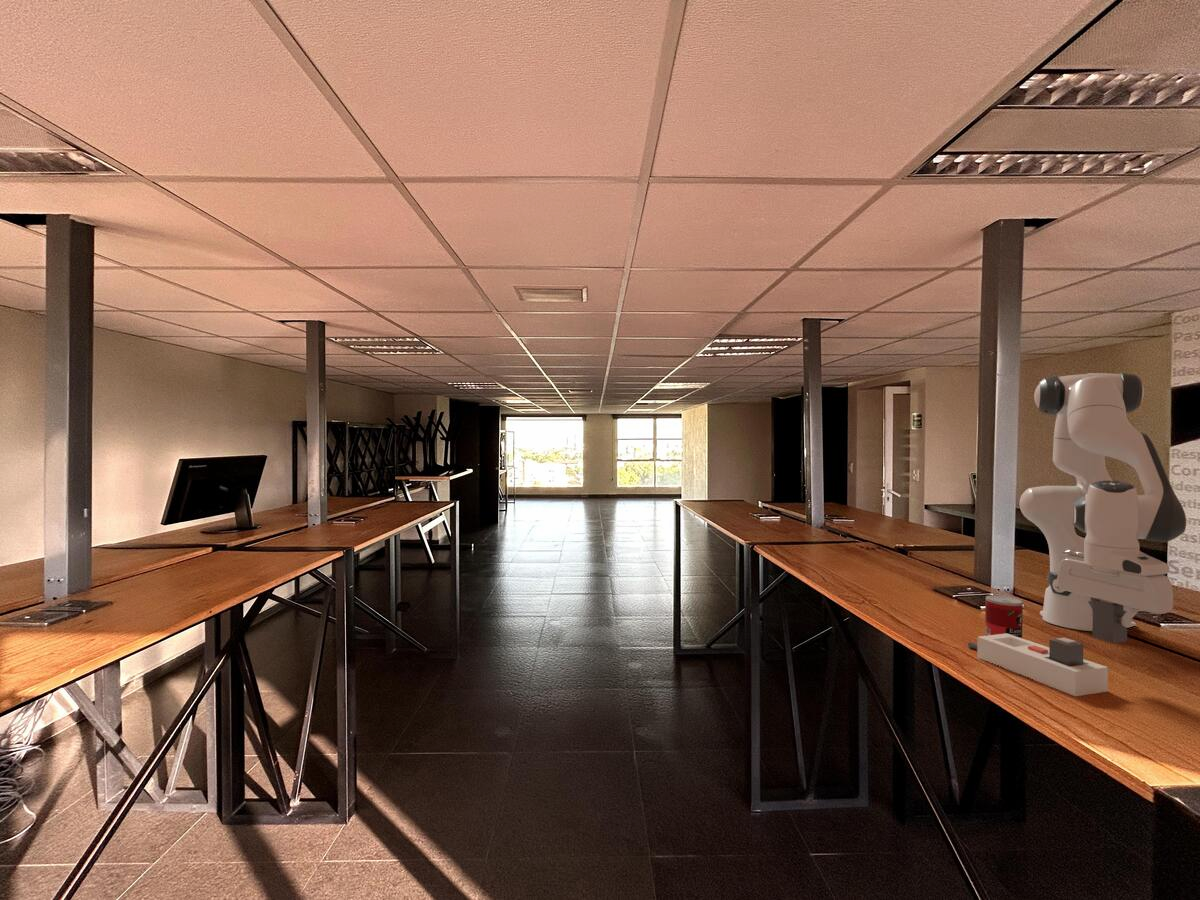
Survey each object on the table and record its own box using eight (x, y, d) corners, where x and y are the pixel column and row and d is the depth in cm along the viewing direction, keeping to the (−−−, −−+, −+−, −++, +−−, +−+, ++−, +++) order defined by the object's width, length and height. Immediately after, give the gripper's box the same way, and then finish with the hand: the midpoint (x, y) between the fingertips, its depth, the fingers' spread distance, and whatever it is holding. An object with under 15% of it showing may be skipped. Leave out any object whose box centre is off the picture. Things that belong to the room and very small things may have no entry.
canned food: (1012, 648, 143) (1012, 604, 143) (978, 639, 150) (978, 597, 150) (1029, 644, 146) (1029, 601, 146) (995, 634, 154) (995, 593, 153)
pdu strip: (984, 645, 145) (984, 608, 145) (1107, 691, 118) (1108, 645, 118) (955, 648, 143) (955, 611, 143) (1075, 696, 116) (1075, 650, 116)
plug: (1105, 634, 126) (1106, 596, 125) (1126, 641, 122) (1127, 601, 122) (1092, 636, 125) (1093, 598, 124) (1113, 643, 121) (1113, 603, 120)
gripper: (1050, 549, 132) (1049, 608, 132) (1156, 569, 112) (1155, 639, 113) (1070, 547, 133) (1070, 606, 134) (1179, 567, 114) (1178, 636, 114)
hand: (1109, 621), depth 123 cm, fingers closed on plug, 4 cm apart
